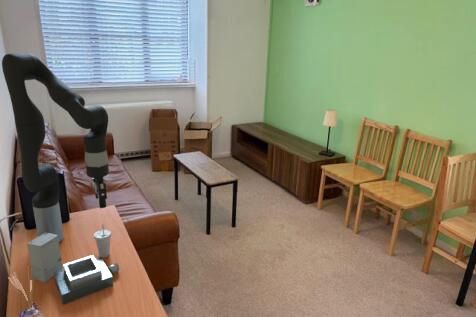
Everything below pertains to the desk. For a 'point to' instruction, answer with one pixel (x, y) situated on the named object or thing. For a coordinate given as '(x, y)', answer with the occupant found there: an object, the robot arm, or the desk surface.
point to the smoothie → (103, 241)
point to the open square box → (83, 278)
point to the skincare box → (45, 256)
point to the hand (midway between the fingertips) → (100, 202)
